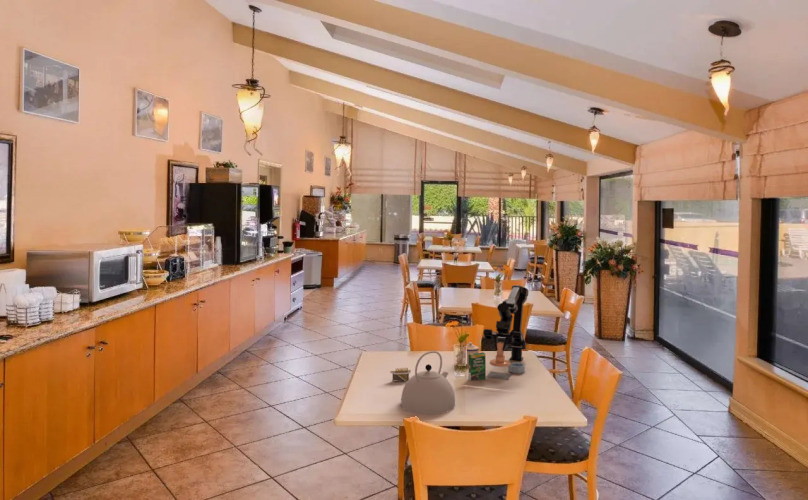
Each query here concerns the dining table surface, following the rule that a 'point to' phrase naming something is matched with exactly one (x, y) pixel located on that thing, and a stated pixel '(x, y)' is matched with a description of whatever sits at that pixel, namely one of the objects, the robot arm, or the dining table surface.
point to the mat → (499, 375)
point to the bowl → (517, 368)
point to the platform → (401, 374)
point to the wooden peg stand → (500, 357)
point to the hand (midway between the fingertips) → (499, 350)
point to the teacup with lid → (471, 350)
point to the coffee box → (477, 366)
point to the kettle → (428, 391)
